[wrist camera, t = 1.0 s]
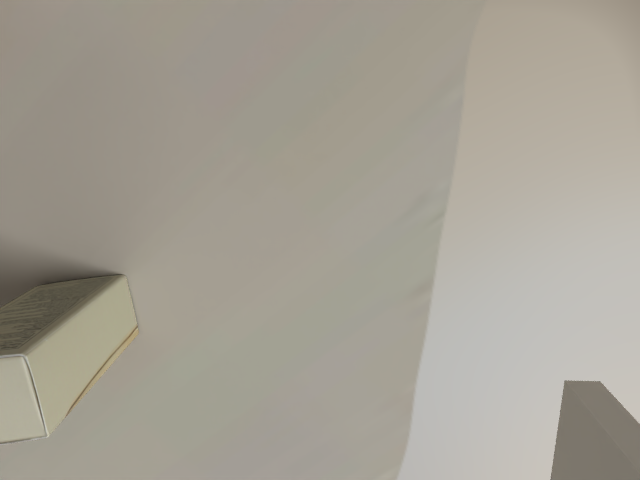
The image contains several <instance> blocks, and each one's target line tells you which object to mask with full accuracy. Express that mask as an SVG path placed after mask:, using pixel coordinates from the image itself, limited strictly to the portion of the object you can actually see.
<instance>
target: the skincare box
mask: <svg viewBox="0 0 640 480" xmlns="http://www.w3.org/2000/svg"><path fill="white" fill-rule="evenodd" d="M138 333H139V331H138V326H137V321H136V317H135V312H134V308H133V303H132V299H131V295H130V290H129V286H128V282H127V278H126V276H125V275H114V276H105V277H96V278H89V279H80V280H73V281H65V282H58V283H52V284H46V285H39V286H36V287H35V288H33V289H31V290H30V291H28V292H26V293H24V294H23V295H21V296H20V297H18V298H16V299H14V300H13V301H11V302H9V303H8V304H6V305H4V306H3V307H1V308H0V445H4V444H12V443H18V442H25V441H33V440H39V439H45V438H47V437H49V436H50V434H51V433H52V432H53V431H54V430H55V429H56V428H57V426H58V425H59V424H60V423H61V422H62V421H63V419H64V418H65V417H66V416H67V415H68V414H69V413H70V412H71V410H72V409H73V408H74V407H75V406H76V405H77V404H78V402H79V401H80V400H81V399H82V398H83V397H84V395H85V394H86V393H87V392H88V391H89V390H90V389H91V387H92V386H93V385H94V384H95V383H96V382H97V381H98V379H99V378H100V377H101V376H102V375H103V374H104V373H105V372H106V371H107V369H108V368H109V367H110V366H111V365H112V364H113V362H114V361H115V360H116V359H117V358H118V357H119V355H120V354H121V353H122V352H123V351H124V350H125V349H126V347H127V346H128V345H129V344H130V343H131V342H132V341H133V339H134V338H135V337H136V336H137V335H138Z"/></svg>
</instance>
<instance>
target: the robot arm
mask: <svg viewBox="0 0 640 480" xmlns="http://www.w3.org/2000/svg"><path fill="white" fill-rule="evenodd" d="M551 480H640V424H639V423H638V422H637V421H636V420H635V419H634V417H633V416H632V415H631V414H630V413H629V412H628V411H627V410H626V409H625V408H624V407H623V406H622V405H621V403H620V402H619V401H618V400H617V399H616V398H615V397H614V396H613V395H612V394H611V393H610V392H609V391H608V390H607V389H606V387H605V386H604V385H603V384H602V383H601V382H599V381H597V382H596V381H595V382H594V381H565V382H564V389H563V397H562V403H561V410H560V418H559V424H558V431H557V438H556V445H555V452H554V459H553V466H552V473H551Z"/></svg>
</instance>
